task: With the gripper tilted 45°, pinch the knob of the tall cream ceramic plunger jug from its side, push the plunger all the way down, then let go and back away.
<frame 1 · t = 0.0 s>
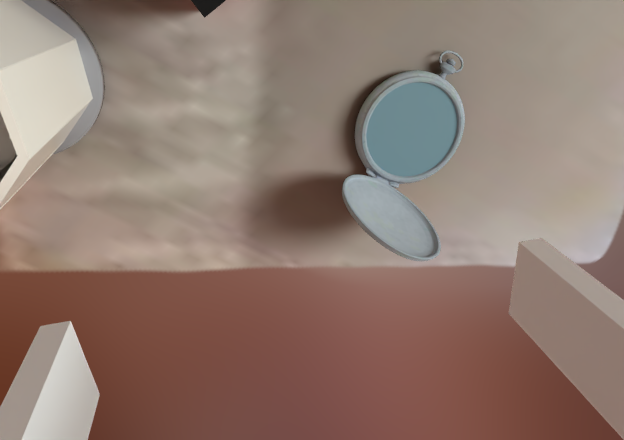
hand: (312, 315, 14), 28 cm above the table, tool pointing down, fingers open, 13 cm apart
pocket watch: (403, 129, 42), on the table
jug: (16, 74, 34), on the table
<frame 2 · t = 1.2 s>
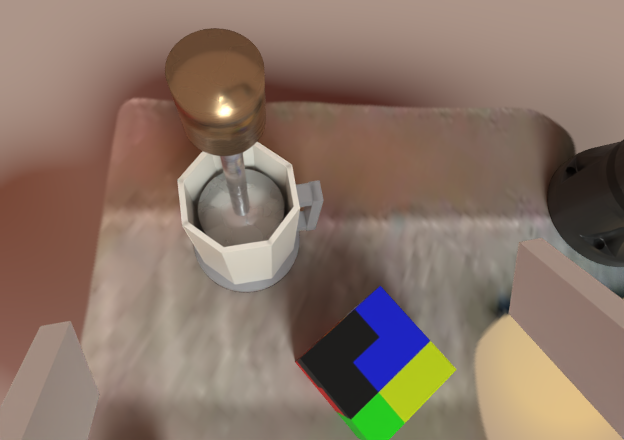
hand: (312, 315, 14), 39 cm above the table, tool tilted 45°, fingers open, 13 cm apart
puzzle toy: (359, 366, 52), on the table
plunger: (232, 161, 34), point 22 cm above the table, slide at 0.0 cm
jug: (247, 241, 55), on the table
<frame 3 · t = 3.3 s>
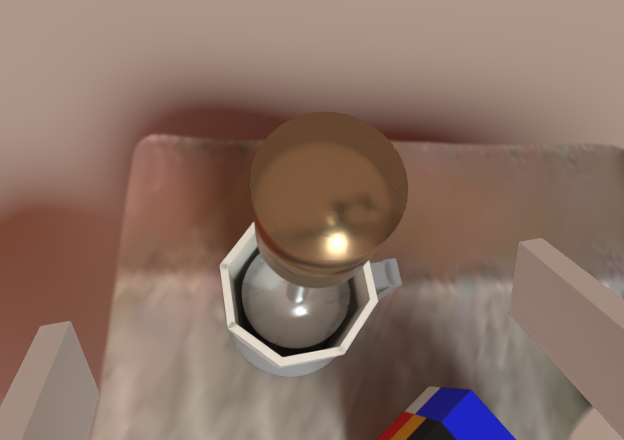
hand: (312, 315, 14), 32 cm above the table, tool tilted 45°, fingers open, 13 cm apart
plunger: (305, 260, 25), point 22 cm above the table, slide at 0.0 cm
jug: (290, 311, 46), on the table
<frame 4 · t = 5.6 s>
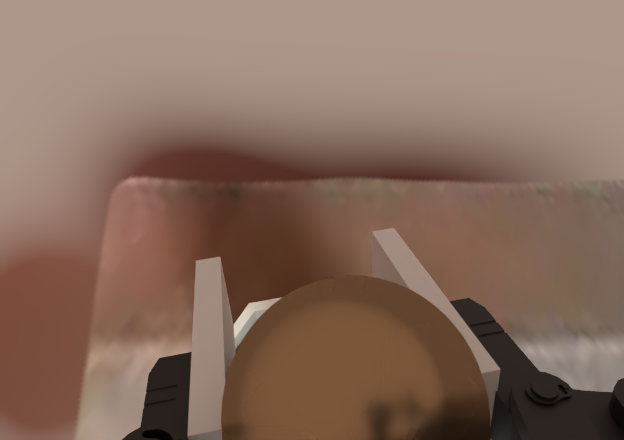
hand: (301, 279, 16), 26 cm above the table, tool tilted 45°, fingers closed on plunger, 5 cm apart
plunger: (311, 392, 19), point 22 cm above the table, slide at 0.0 cm, touching gripper
jug: (290, 384, 39), on the table
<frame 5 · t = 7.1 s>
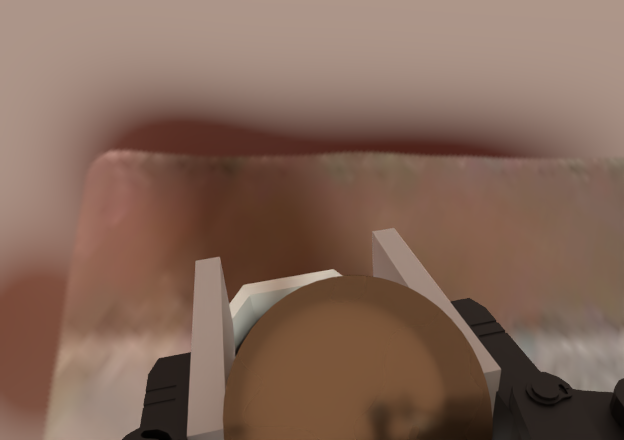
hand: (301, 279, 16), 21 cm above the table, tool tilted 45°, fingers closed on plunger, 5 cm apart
plunger: (311, 392, 19), point 16 cm above the table, slide at 5.5 cm, touching gripper
jug: (293, 385, 34), on the table
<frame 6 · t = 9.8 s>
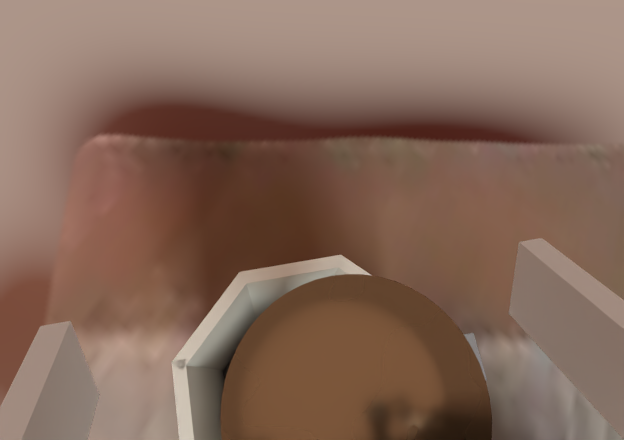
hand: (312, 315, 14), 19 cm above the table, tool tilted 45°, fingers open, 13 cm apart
plunger: (311, 391, 19), point 13 cm above the table, slide at 8.1 cm
jug: (295, 386, 32), on the table
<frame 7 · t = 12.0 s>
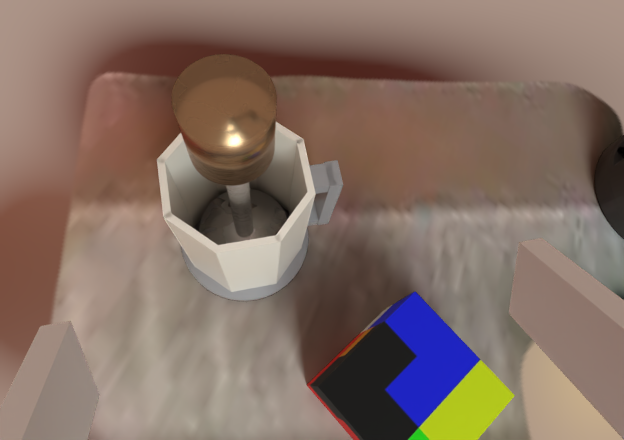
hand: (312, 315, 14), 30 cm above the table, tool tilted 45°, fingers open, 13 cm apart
puzzle toy: (383, 388, 43), on the table
plunger: (237, 185, 33), point 13 cm above the table, slide at 8.1 cm
jug: (245, 239, 46), on the table
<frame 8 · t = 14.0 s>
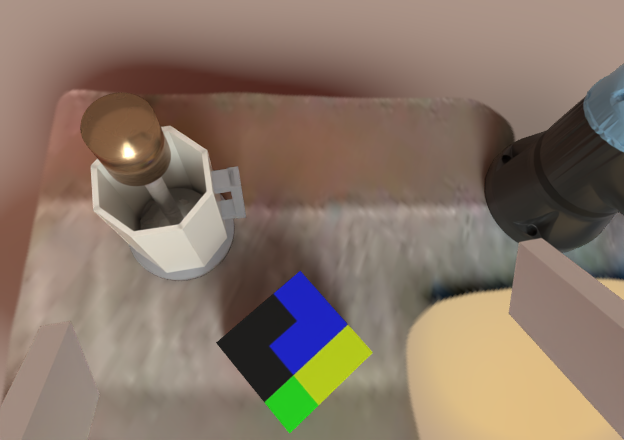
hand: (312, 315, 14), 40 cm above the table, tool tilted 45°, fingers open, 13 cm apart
puzzle toy: (290, 353, 52), on the table
plunger: (156, 186, 42), point 13 cm above the table, slide at 8.1 cm
jug: (182, 230, 55), on the table
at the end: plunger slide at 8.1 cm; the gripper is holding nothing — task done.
